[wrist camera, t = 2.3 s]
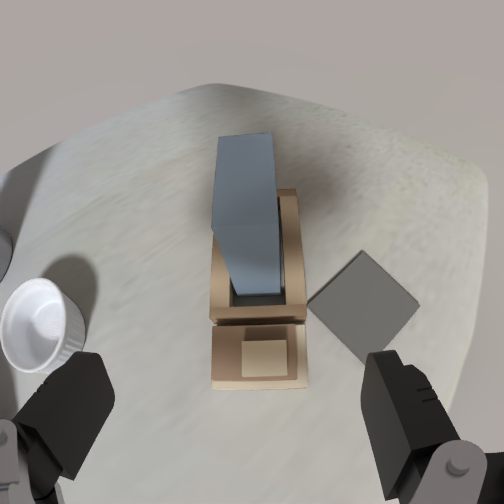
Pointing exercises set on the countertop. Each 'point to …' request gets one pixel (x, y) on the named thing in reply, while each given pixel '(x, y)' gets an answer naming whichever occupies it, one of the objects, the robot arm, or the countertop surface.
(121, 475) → the countertop surface
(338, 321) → the pad
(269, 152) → the blue-grey rectangular block
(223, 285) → the rack
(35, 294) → the ramekin
